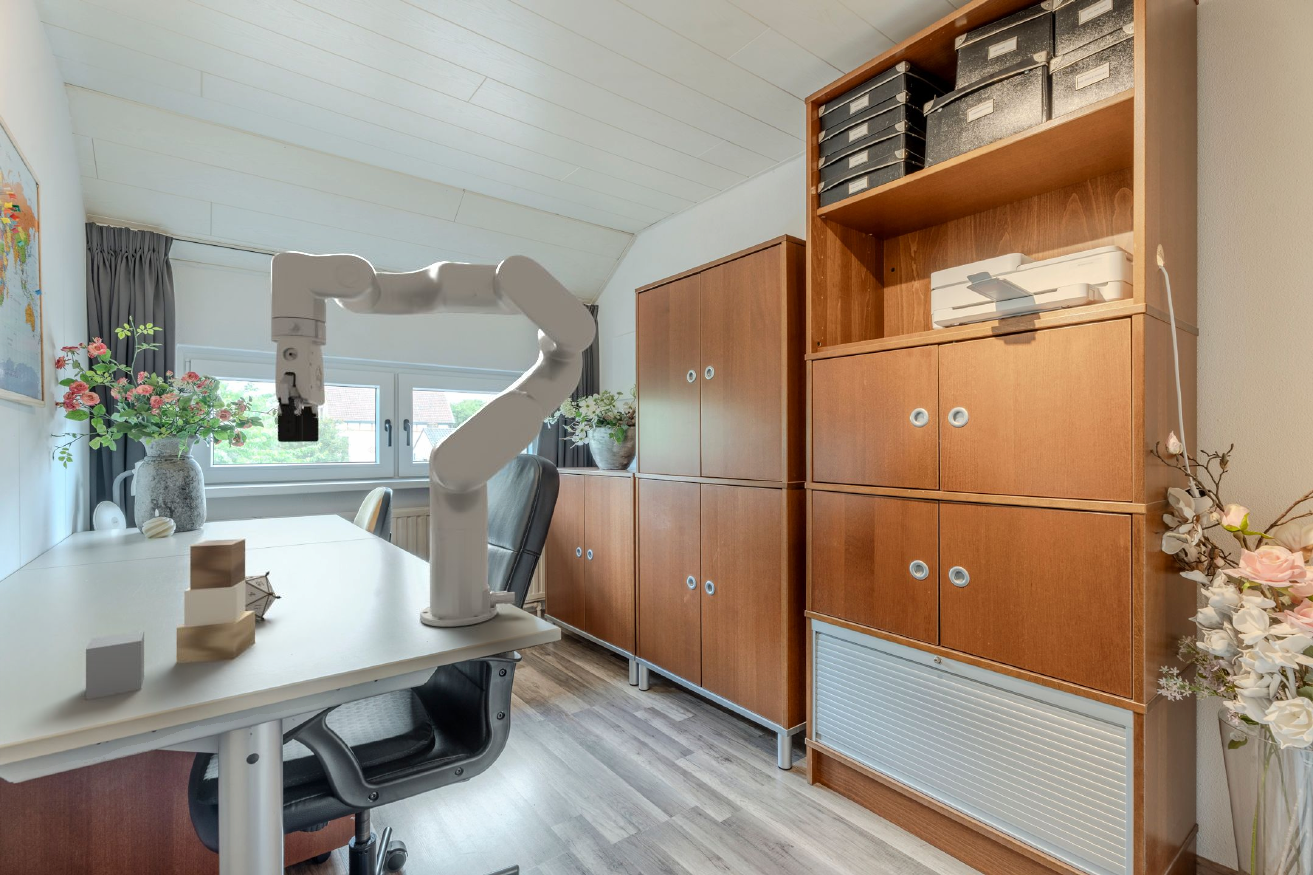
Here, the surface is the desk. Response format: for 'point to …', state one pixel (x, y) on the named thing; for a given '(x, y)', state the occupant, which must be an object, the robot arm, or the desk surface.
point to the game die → (259, 595)
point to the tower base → (216, 640)
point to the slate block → (114, 664)
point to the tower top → (214, 605)
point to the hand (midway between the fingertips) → (299, 441)
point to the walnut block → (217, 563)
